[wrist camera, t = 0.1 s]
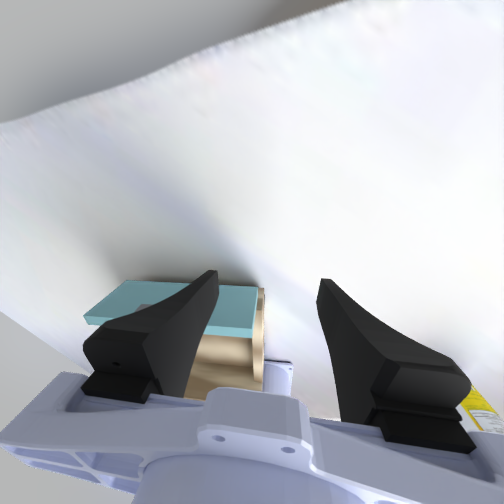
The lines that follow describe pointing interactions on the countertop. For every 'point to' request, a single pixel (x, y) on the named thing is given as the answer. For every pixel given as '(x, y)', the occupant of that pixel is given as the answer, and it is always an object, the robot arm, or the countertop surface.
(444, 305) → the countertop surface
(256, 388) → the tray
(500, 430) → the supplement bottle
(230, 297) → the panel
